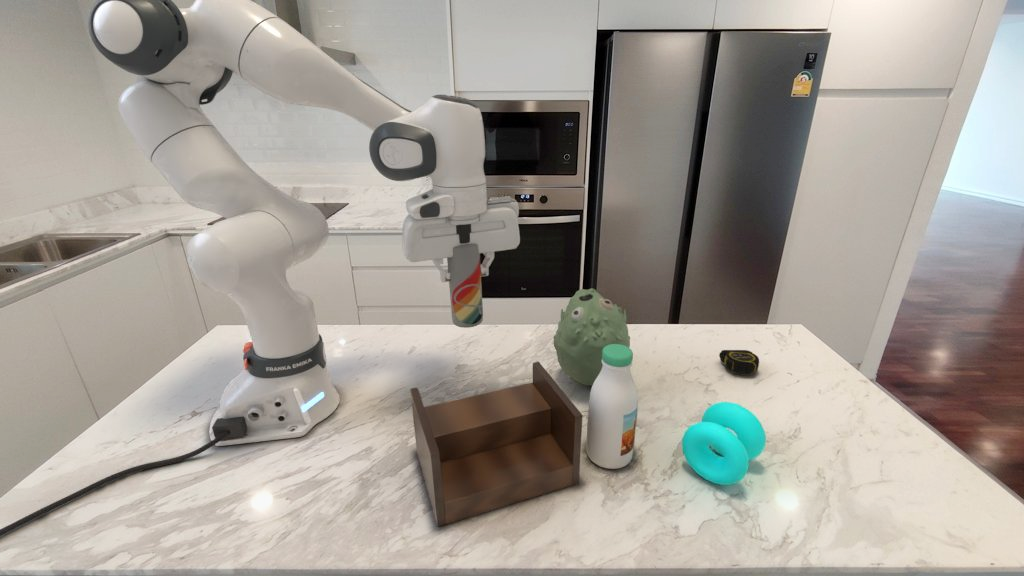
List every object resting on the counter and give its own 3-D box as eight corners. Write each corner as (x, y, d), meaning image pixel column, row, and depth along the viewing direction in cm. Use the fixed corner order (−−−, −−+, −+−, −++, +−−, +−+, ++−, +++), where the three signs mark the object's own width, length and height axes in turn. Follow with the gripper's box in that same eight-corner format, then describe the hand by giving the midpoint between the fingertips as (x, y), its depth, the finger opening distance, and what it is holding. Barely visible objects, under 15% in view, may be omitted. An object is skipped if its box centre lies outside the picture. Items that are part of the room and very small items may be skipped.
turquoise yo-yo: (762, 465, 78) (774, 415, 74) (737, 501, 71) (749, 447, 67) (702, 437, 84) (710, 389, 81) (675, 467, 78) (682, 416, 74)
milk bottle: (604, 477, 76) (613, 368, 68) (576, 447, 82) (582, 345, 75) (642, 460, 79) (654, 355, 72) (612, 433, 86) (621, 334, 78)
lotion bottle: (478, 329, 85) (472, 219, 77) (448, 327, 86) (438, 218, 78) (486, 315, 90) (481, 211, 82) (457, 313, 91) (450, 210, 83)
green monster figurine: (618, 356, 110) (625, 275, 102) (636, 406, 93) (646, 313, 85) (550, 356, 110) (552, 275, 103) (555, 406, 93) (557, 313, 85)
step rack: (437, 527, 68) (430, 454, 63) (417, 453, 81) (409, 388, 76) (578, 483, 75) (582, 414, 70) (538, 422, 89) (538, 361, 84)
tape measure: (749, 362, 107) (752, 347, 106) (762, 379, 101) (765, 363, 99) (717, 361, 108) (720, 346, 106) (729, 378, 101) (731, 363, 100)
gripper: (511, 191, 86) (512, 264, 91) (396, 202, 79) (404, 280, 84) (525, 198, 80) (525, 275, 86) (402, 210, 73) (411, 293, 79)
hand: (464, 278), depth 85 cm, fingers closed on lotion bottle, 5 cm apart
